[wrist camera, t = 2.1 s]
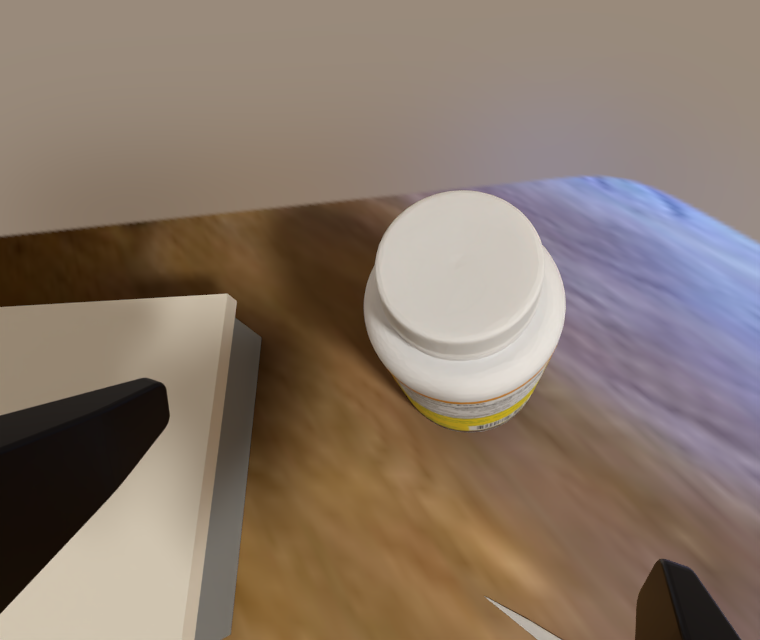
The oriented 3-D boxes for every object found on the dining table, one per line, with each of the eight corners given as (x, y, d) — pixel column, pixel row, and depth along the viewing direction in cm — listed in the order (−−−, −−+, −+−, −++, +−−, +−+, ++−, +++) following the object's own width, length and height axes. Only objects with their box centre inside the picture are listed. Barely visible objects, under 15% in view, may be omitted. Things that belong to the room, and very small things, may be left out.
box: (239, 647, 19) (174, 686, 15) (-152, 616, 22) (-290, 642, 18) (270, 329, 23) (227, 293, 19) (-60, 343, 26) (-155, 316, 22)
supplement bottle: (430, 290, 22) (396, 137, 13) (553, 332, 21) (617, 191, 11) (380, 404, 21) (301, 326, 12) (508, 458, 19) (537, 419, 10)
